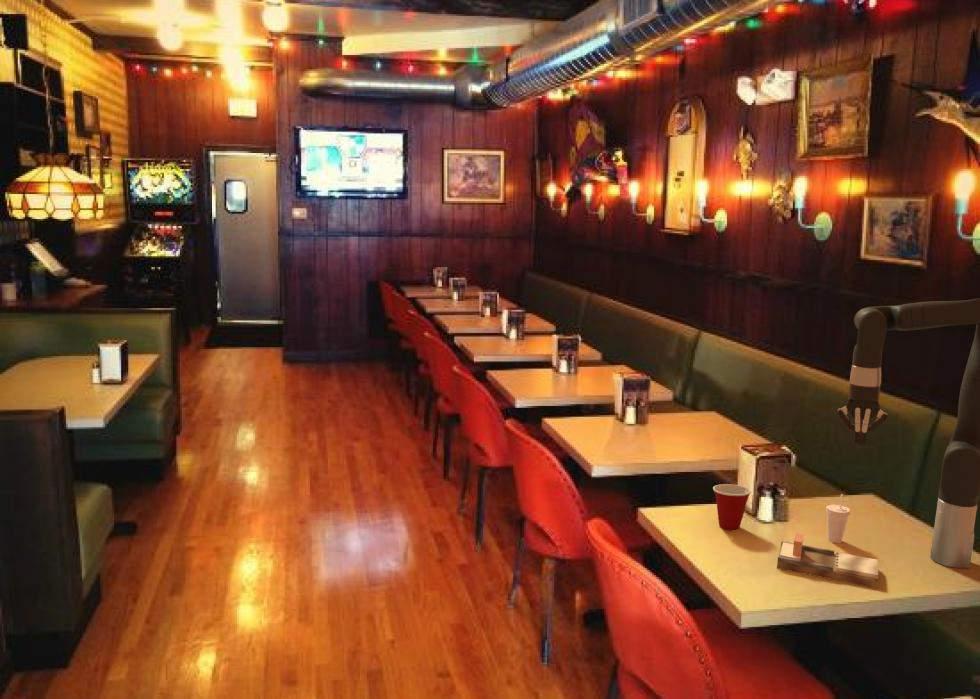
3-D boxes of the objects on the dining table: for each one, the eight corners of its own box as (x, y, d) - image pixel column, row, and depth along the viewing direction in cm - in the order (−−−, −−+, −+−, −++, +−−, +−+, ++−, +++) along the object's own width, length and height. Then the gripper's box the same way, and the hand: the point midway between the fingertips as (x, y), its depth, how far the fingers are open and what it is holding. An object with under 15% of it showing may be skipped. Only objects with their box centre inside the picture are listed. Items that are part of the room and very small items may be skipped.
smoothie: (843, 547, 232) (848, 499, 230) (819, 540, 236) (824, 494, 233) (849, 539, 237) (854, 493, 235) (826, 533, 241) (831, 488, 238)
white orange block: (801, 549, 224) (803, 532, 223) (799, 562, 216) (801, 544, 215) (782, 545, 226) (784, 528, 225) (779, 558, 218) (781, 540, 217)
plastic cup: (731, 517, 251) (735, 479, 249) (755, 531, 241) (759, 492, 239) (702, 521, 247) (705, 483, 245) (725, 536, 237) (728, 496, 235)
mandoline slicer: (875, 568, 219) (877, 557, 218) (876, 587, 208) (878, 576, 208) (780, 550, 228) (781, 540, 228) (776, 568, 217) (777, 557, 217)
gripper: (891, 381, 222) (885, 444, 225) (838, 377, 227) (833, 438, 230) (893, 387, 215) (887, 451, 218) (838, 382, 220) (833, 445, 223)
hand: (859, 444), depth 224 cm, fingers closed
